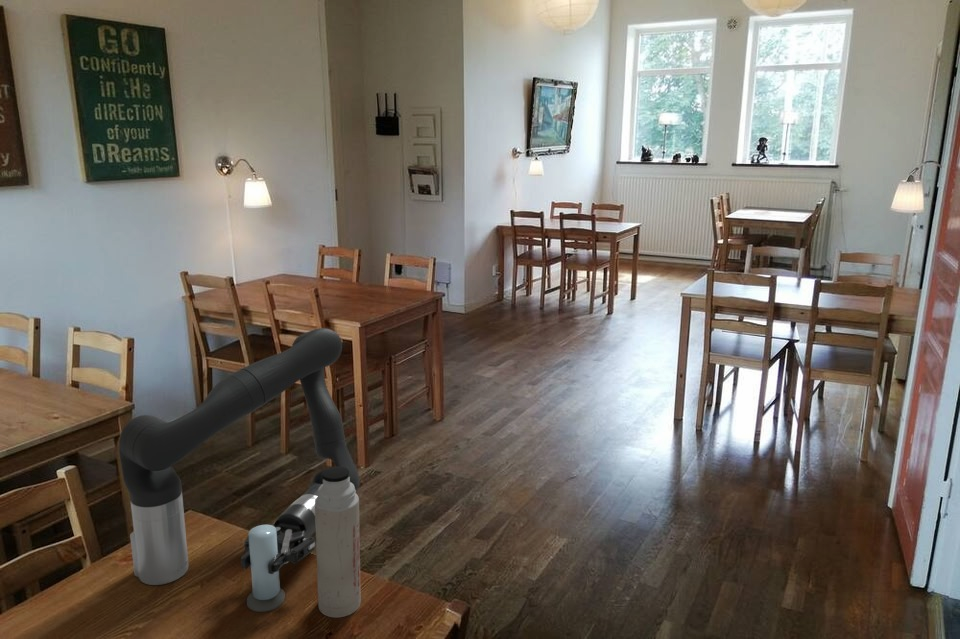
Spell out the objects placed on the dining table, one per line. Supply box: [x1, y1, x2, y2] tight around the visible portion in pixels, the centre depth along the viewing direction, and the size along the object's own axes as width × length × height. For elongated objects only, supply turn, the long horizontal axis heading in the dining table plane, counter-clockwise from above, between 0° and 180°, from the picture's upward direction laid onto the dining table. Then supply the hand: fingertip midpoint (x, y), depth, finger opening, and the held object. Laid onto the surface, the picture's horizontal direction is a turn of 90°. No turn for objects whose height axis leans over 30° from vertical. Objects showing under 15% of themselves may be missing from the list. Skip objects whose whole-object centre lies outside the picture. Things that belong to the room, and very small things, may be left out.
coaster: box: [246, 587, 286, 613], centre depth 131 cm, size 7×7×1 cm
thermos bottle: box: [315, 466, 362, 619], centre depth 127 cm, size 8×8×28 cm
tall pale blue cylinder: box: [247, 524, 281, 600], centre depth 129 cm, size 5×5×13 cm
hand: (256, 567), depth 126 cm, fingers closed on tall pale blue cylinder, 5 cm apart
